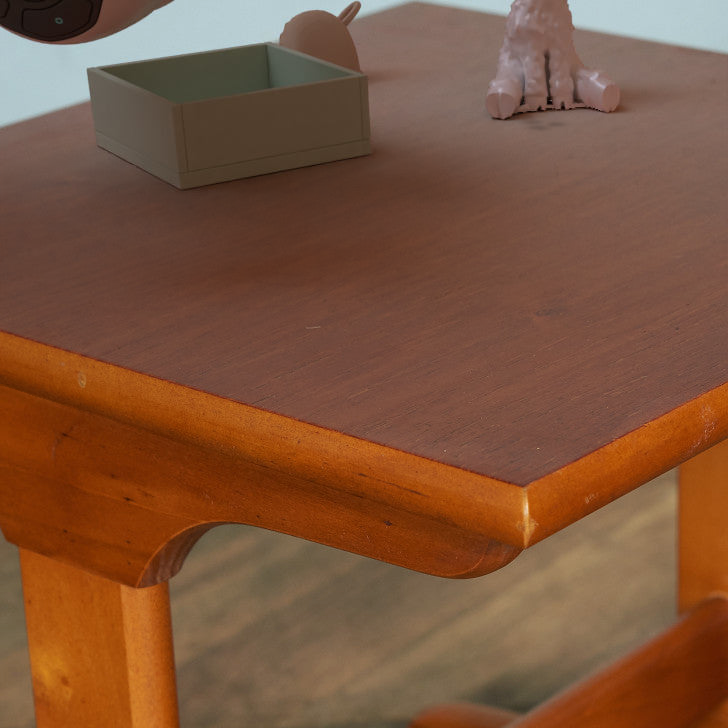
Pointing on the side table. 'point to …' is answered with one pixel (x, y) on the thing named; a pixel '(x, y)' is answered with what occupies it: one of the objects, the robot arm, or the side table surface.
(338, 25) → the decorative ornament
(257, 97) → the open storage bin
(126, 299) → the side table surface
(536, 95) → the white creature statuette
